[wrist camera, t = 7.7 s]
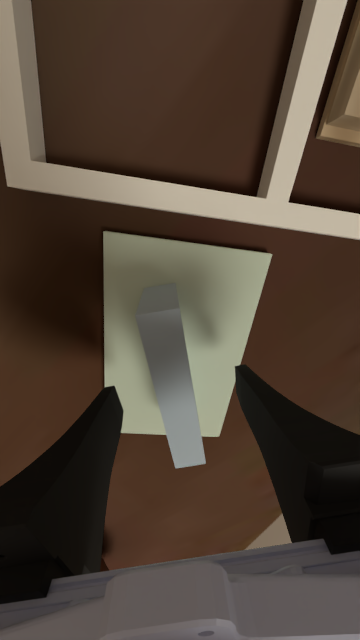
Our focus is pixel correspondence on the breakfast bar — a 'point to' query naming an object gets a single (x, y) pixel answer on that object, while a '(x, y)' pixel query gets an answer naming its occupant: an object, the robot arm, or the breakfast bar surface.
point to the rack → (266, 209)
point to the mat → (197, 318)
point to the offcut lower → (326, 130)
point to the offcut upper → (348, 91)
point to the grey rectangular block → (170, 371)
